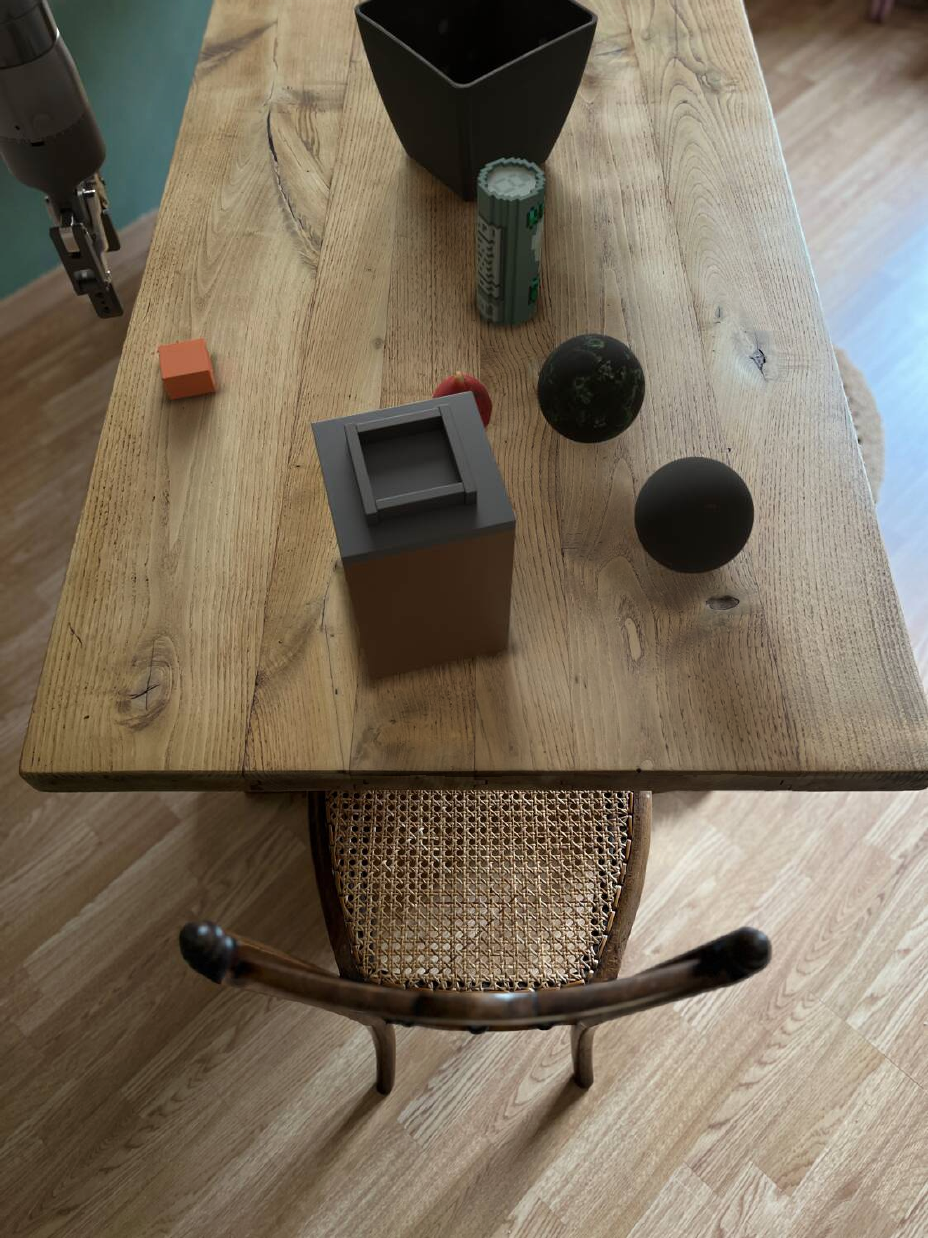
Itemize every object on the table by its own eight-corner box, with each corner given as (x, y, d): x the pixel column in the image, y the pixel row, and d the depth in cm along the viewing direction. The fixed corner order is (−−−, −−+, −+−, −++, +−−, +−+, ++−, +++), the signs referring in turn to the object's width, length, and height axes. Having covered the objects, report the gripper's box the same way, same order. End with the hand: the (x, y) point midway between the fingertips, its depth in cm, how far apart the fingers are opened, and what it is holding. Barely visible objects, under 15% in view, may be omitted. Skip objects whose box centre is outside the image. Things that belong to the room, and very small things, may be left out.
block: (170, 400, 92) (161, 378, 90) (166, 367, 95) (157, 345, 92) (216, 391, 93) (208, 370, 90) (211, 359, 95) (203, 337, 93)
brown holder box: (370, 681, 77) (338, 546, 59) (343, 564, 83) (307, 409, 65) (507, 649, 78) (517, 508, 61) (472, 536, 84) (472, 376, 66)
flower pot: (463, 232, 104) (460, 85, 90) (365, 152, 112) (348, 4, 97) (586, 165, 110) (603, 16, 95) (486, 92, 117) (487, -56, 102)
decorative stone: (574, 371, 94) (584, 293, 85) (656, 419, 91) (675, 343, 82) (513, 430, 90) (517, 355, 81) (596, 482, 87) (610, 410, 78)
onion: (502, 426, 90) (504, 367, 83) (471, 466, 88) (471, 408, 81) (452, 402, 92) (451, 343, 85) (420, 441, 90) (416, 382, 83)
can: (546, 311, 98) (557, 185, 85) (497, 333, 96) (501, 208, 83) (515, 278, 101) (521, 150, 87) (467, 298, 99) (466, 171, 86)
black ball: (753, 583, 81) (787, 518, 73) (645, 604, 80) (666, 540, 72) (715, 494, 86) (742, 422, 77) (612, 513, 85) (628, 443, 76)
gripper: (-14, 55, 71) (68, 235, 85) (-23, 170, 64) (68, 345, 78) (85, 43, 71) (150, 223, 86) (87, 155, 65) (157, 331, 79)
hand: (111, 281), depth 82 cm, fingers open, 8 cm apart
